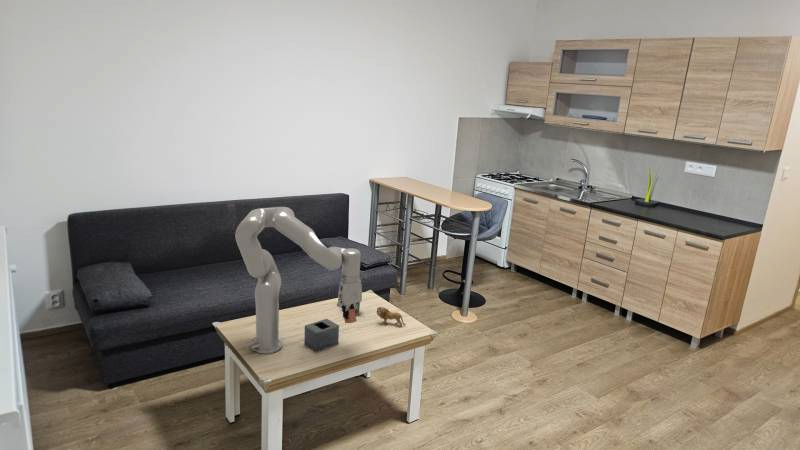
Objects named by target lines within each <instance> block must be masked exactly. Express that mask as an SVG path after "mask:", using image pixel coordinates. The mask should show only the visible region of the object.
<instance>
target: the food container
mask: <svg viewBox="0 0 800 450" xmlns="http://www.w3.org/2000/svg"><path fill="white" fill-rule="evenodd" d="M362 301H363V299H362V300H361V301H360V302H359V303H358V304H357V306H356V308H355V314H356V318H357V317H358V316H359V314H360V313H359V312H360V306H361V302H362ZM349 307H350V305H348V309H349ZM341 312H342V313H343V309H342V308H341Z"/></svg>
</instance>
